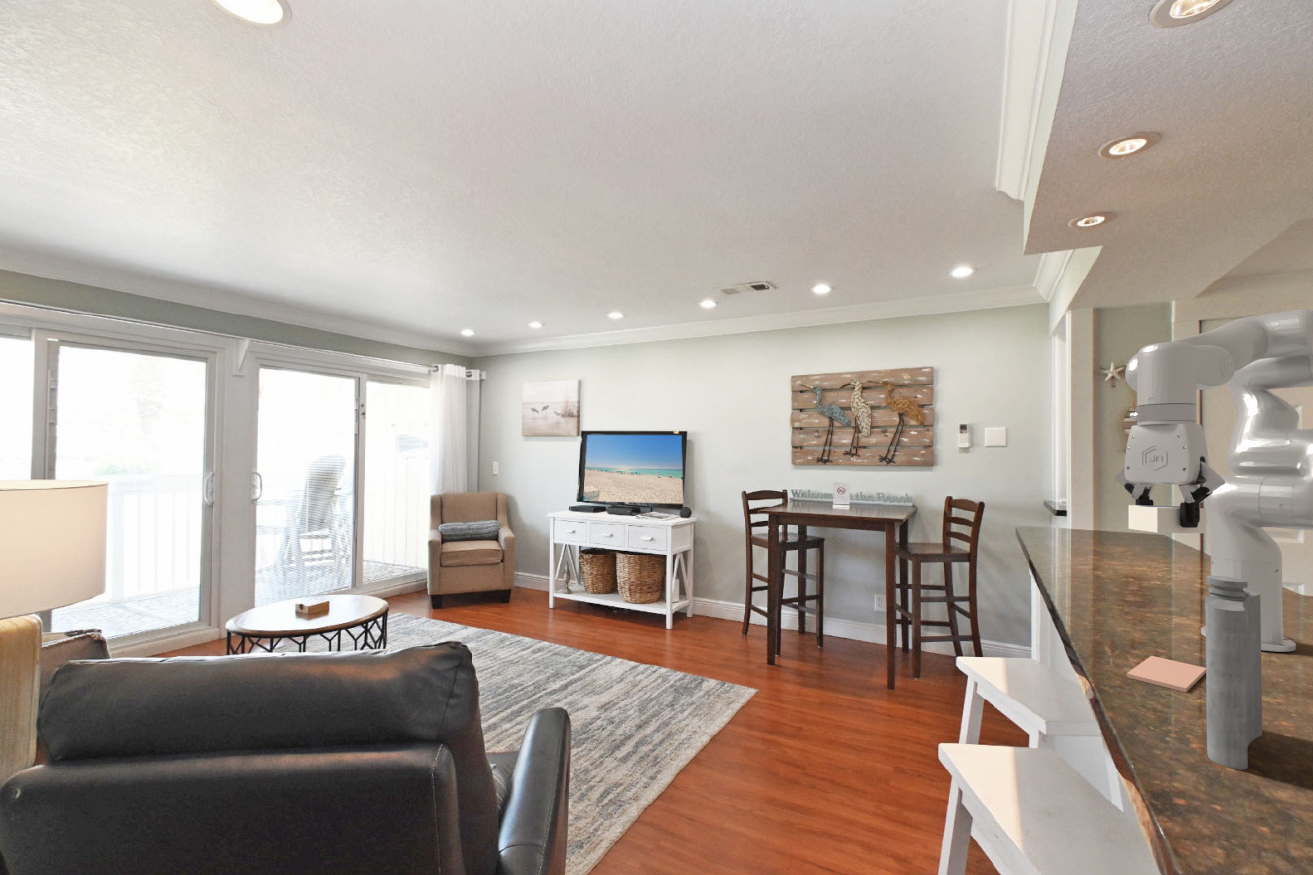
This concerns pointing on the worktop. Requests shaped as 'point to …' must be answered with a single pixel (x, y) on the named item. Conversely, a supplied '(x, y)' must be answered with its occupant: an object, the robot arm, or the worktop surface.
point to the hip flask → (1232, 670)
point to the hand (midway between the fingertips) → (1166, 523)
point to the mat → (1167, 673)
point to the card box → (1162, 519)
